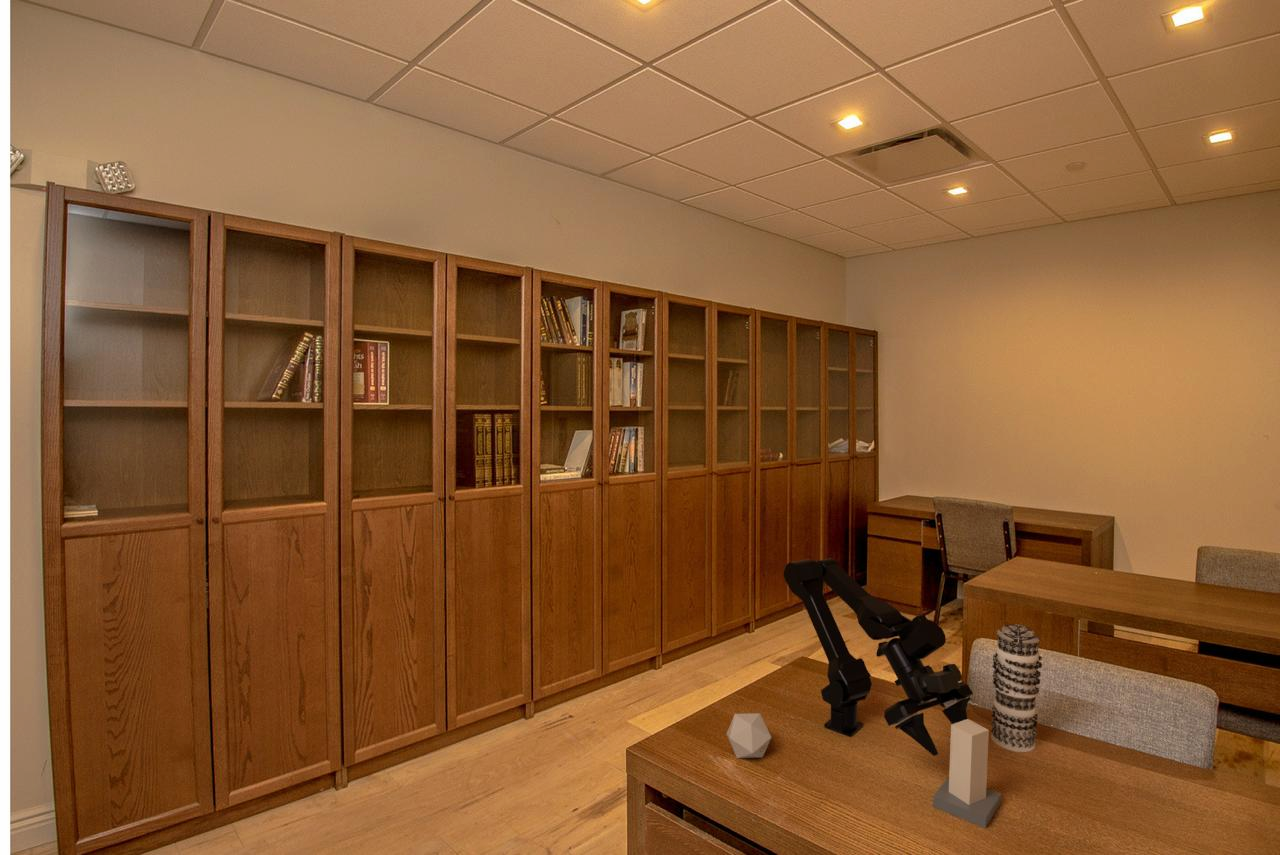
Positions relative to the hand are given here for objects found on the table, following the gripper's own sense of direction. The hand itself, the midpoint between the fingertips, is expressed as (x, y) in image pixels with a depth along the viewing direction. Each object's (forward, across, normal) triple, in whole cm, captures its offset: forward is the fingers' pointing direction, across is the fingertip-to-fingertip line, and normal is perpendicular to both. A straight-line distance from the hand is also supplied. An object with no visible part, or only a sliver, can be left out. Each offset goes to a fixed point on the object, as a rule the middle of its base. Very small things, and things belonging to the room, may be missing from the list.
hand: (953, 748), depth 131 cm
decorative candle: (+2, +27, +11) cm, 30 cm away
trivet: (+9, 0, +4) cm, 10 cm away
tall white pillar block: (+8, 0, +3) cm, 8 cm away
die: (-14, -25, +28) cm, 40 cm away
